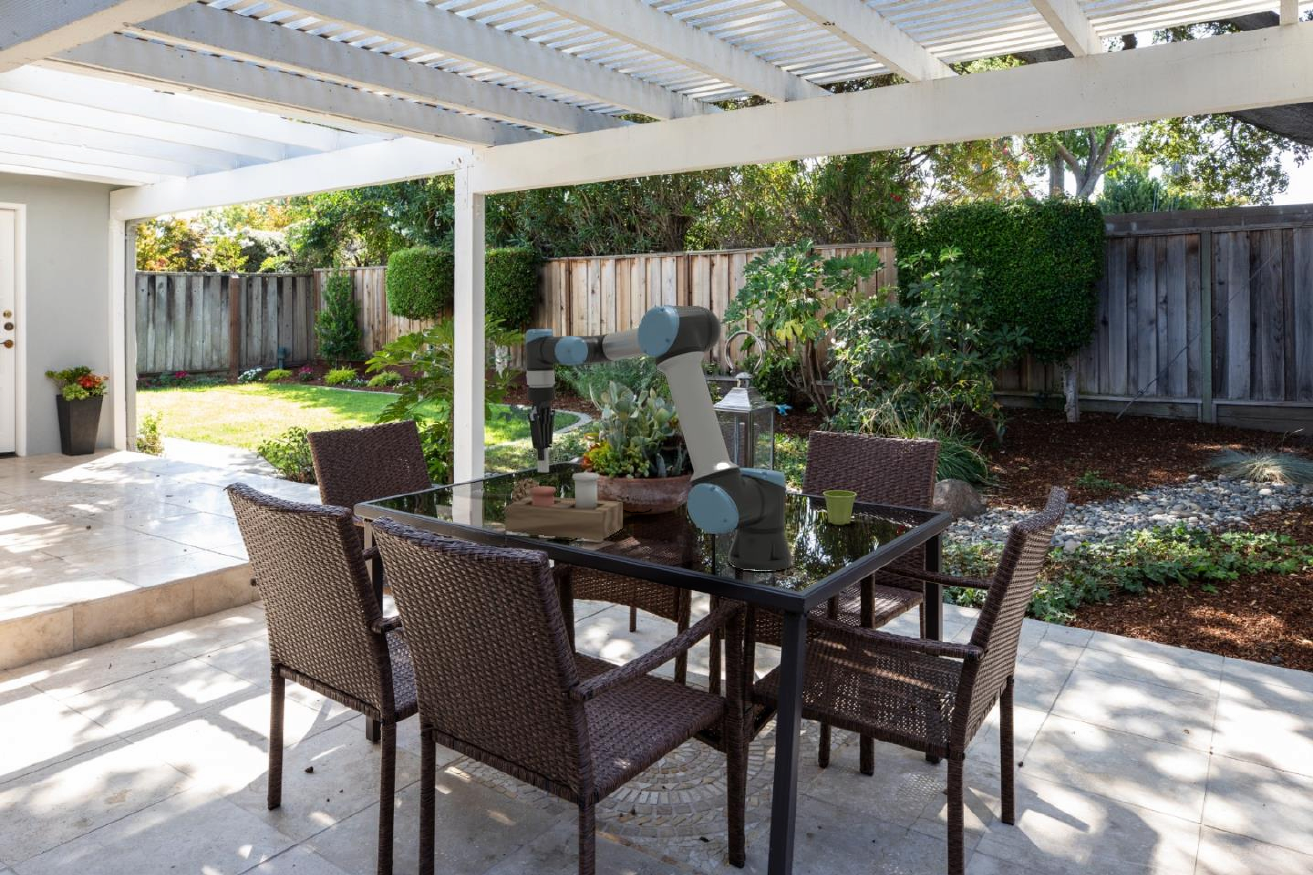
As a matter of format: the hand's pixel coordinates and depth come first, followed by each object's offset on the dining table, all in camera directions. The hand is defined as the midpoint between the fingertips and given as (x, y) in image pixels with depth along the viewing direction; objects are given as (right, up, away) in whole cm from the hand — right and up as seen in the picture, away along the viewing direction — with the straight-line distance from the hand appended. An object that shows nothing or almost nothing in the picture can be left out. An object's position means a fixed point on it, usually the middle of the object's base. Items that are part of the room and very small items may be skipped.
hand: (543, 471), depth 254 cm
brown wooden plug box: (+6, -17, 0) cm, 18 cm away
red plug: (0, -16, +2) cm, 16 cm away
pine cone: (-8, -14, +25) cm, 30 cm away
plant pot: (+84, -15, +12) cm, 86 cm away
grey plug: (+12, -12, -2) cm, 17 cm away
